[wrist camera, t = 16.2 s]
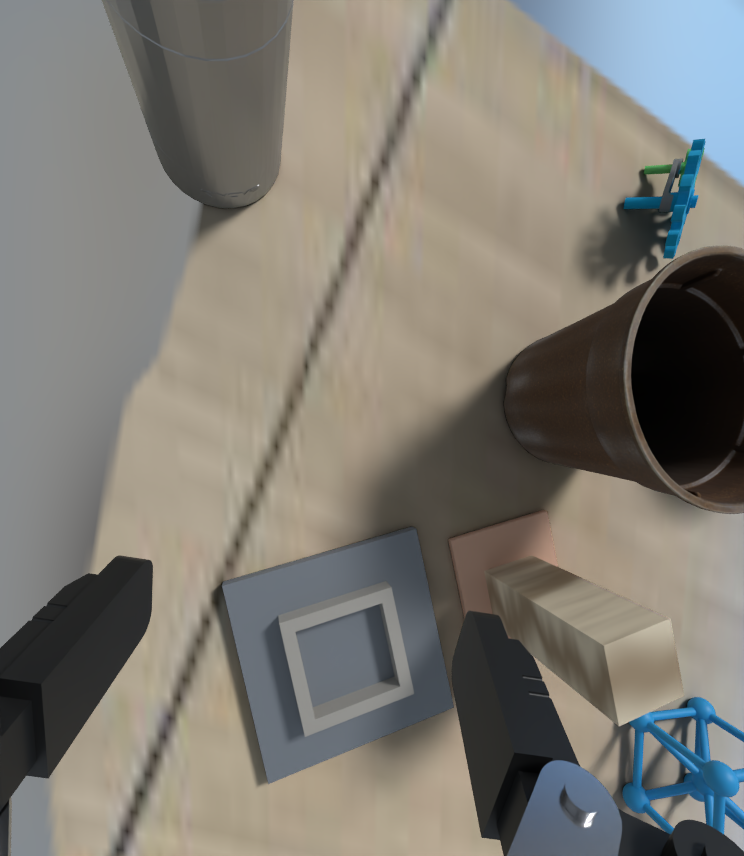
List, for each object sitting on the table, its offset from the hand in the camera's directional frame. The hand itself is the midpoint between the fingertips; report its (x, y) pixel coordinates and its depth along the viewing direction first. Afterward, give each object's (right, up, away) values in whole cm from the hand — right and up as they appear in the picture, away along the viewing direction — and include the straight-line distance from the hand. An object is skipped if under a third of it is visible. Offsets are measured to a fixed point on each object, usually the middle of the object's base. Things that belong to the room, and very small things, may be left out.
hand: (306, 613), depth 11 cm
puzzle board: (-1, -13, +25) cm, 29 cm away
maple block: (+15, -10, +29) cm, 34 cm away
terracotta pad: (+14, -10, +29) cm, 34 cm away
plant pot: (+19, +8, +31) cm, 37 cm away
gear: (+30, +26, +34) cm, 53 cm away
